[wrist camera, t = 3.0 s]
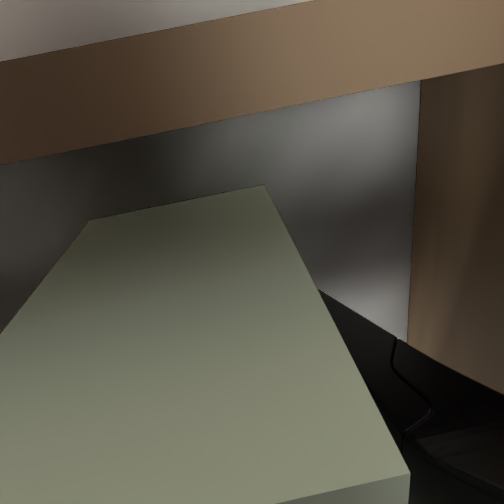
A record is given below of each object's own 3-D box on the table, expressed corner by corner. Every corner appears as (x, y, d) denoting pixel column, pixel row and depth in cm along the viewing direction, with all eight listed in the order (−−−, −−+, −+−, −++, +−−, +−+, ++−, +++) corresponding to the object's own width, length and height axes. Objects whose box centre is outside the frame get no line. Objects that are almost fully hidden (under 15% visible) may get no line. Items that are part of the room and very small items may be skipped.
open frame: (466, -3, 8) (765, -89, 4) (428, 376, 14) (526, 510, 10) (-210, 131, 8) (-735, 205, 3) (47, 460, 14) (-25, 637, 10)
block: (264, 184, 10) (410, 472, 3) (286, 320, 12) (394, 661, 5) (90, 220, 10) (-223, 616, 3) (146, 350, 12) (61, 741, 5)
